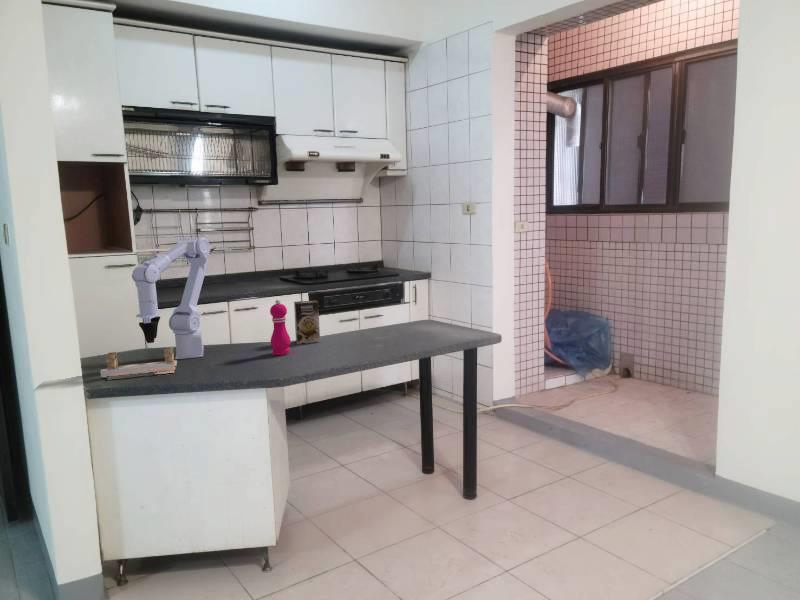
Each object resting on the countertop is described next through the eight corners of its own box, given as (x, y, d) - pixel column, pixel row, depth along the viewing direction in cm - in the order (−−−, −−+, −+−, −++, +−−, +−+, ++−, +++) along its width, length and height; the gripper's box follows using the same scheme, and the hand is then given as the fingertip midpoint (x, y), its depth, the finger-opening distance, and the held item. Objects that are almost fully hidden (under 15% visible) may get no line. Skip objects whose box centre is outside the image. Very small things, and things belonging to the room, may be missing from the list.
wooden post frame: (176, 362, 206) (175, 346, 205) (175, 367, 200) (174, 350, 199) (108, 369, 200) (106, 352, 199) (104, 374, 194) (102, 356, 193)
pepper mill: (267, 355, 213) (263, 300, 210) (279, 350, 219) (276, 297, 216) (282, 356, 209) (279, 301, 206) (295, 352, 216) (292, 298, 213)
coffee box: (297, 344, 228) (294, 303, 226) (295, 341, 235) (293, 301, 232) (320, 342, 231) (318, 301, 228) (318, 339, 237) (316, 299, 234)
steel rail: (174, 368, 196) (174, 362, 196) (174, 370, 194) (173, 363, 194) (102, 375, 190) (101, 369, 190) (101, 377, 188) (100, 371, 188)
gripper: (137, 299, 203) (141, 337, 205) (131, 305, 190) (136, 346, 192) (159, 297, 205) (163, 335, 207) (155, 303, 192) (159, 343, 194)
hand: (151, 340), depth 200 cm, fingers open, 7 cm apart
